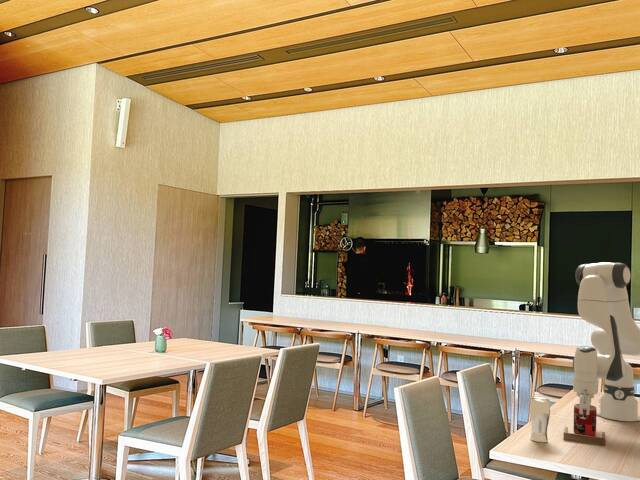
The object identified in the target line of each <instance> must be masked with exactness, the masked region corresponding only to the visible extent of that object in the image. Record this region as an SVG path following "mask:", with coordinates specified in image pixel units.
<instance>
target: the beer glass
mask: <svg viewBox="0 0 640 480" xmlns="http://www.w3.org/2000/svg"><path fill="white" fill-rule="evenodd" d="M550 401H551V400H550V399H549V398H545V397H535V396H533V397H530V404H529V405H530V406H529V417H530V423H531V434H530V440H531V441H533V442H537V443H541V444H542V443H543V444H544V443H545V444H546V443H548V442H549V437H548V427H549V422H550V417H551V403H550Z"/></svg>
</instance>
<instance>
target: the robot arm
mask: <svg viewBox="0 0 640 480" xmlns="http://www.w3.org/2000/svg"><path fill="white" fill-rule="evenodd" d="M574 276H575V280H576V283H577V285H579V289H578V293H577V294H578V295H577V312H578V315H579V317H580V318H581V319H582V320H583V321H585V322H587V323H589V324H590V325H593V326H595V327H597V328H595V329H594V330H593V332H592V333H591V335H590V343H591V344H592V346H589V345H582V346H581V345H580V346H578V347H576V349H575V351H574V357H573V358H572V370H573V372H574V375H573V380H572V381H573V385H572V386H573V387H572V388H573V390H572V391H573V392H575V393H576V396H577V397H579V403H578V404H579V407H580V409H579V413H580V414H583V410H582V409H583V408H587V412H586V415H589V409H590V405H591V404H592V399H594V397H595V395H598V391H599V390H598V389H599V388H598V385H599V383H598V382H599V381H598V379H601V380H605V383H604V384H603V391H604V393H603V394H602V395H601V396H600V398H599V400H598V403H599V405H598V407H599V409H598V410H596V411H597V413H596V416H598V417H602V418H604V419H609V420H614V421H620V422H640V415H639V400H637V399H636V398H635V386H634V369H633V367H632V366H631V365H630V364H629V363H627V362H626V361H625V358H624V357H623V355H627V356H634V357H636V356H637V357H638V356H639V357H640V327H639V326H638V325H637V323H636V322H635V320H634V318H633V315H632V312H631V308H630V302H629V294H628V290H627V286H628V285H629V284H630V281H631V277H632V276H631V270H630V267H629V266H628V265H626V263H624V262H623V263H622V262H605V261H604V262H603V261H602V262H597V263H596V262H594V263H584V264H580V265H578V267H577V268H576V269H575V275H574Z"/></svg>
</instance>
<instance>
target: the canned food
mask: <svg viewBox="0 0 640 480" xmlns="http://www.w3.org/2000/svg"><path fill="white" fill-rule="evenodd" d="M579 409H580V407H579V403H576V404H573V434H580V435H587V436H594V437H596V435H597V415H596V413H597V411H598V410H597V406H595V405H590V409H589V415H586V412H587V408H583V409H582V410H583V414H580V413H579Z"/></svg>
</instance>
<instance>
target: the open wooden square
mask: <svg viewBox="0 0 640 480" xmlns="http://www.w3.org/2000/svg"><path fill="white" fill-rule="evenodd" d="M568 428H569V426H564V429H563V440H564V441H572V442H577V443H578V442H579V443H584V444H585V443H586V444H591V445H598V446H604V447H605V446H606V433H605V431H601V436H595V437H594V436H587V435H580V434H574V432H573V433H572V432H568V431H569V430H568Z"/></svg>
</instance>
